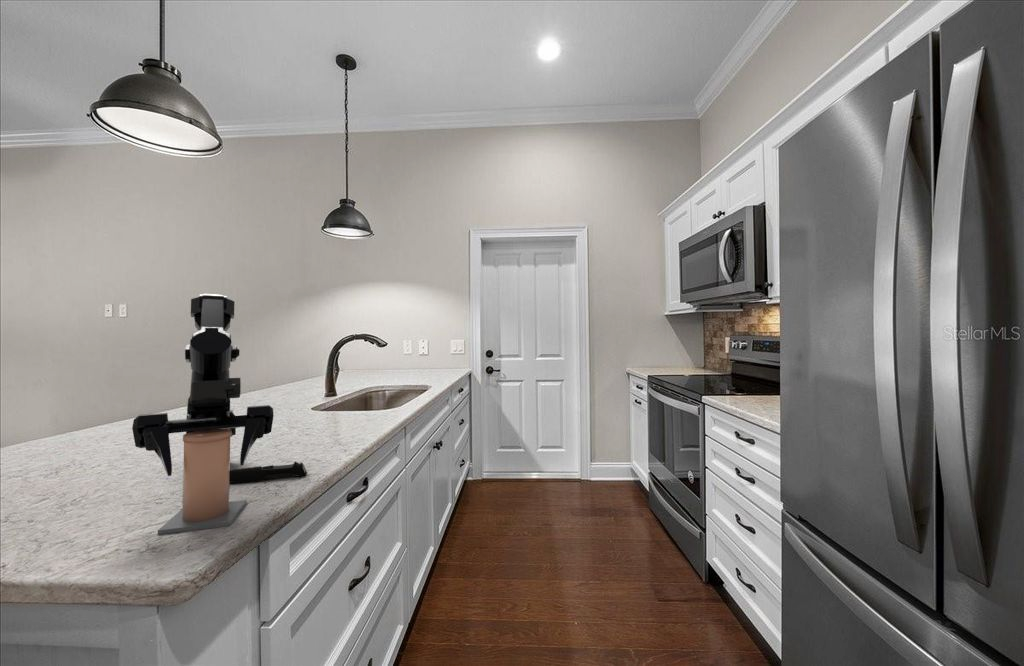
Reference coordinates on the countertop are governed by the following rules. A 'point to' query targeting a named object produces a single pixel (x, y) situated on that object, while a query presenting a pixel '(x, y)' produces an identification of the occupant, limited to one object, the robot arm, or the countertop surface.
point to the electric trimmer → (267, 472)
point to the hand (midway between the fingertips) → (207, 469)
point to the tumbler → (206, 474)
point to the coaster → (224, 520)
